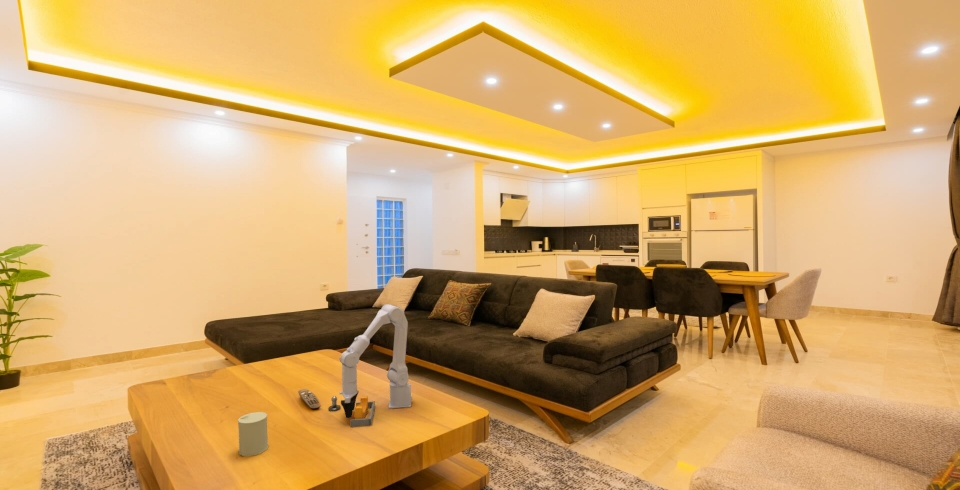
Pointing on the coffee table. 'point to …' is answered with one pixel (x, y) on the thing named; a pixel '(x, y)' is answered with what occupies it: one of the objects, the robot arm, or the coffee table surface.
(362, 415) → the pipe clamp
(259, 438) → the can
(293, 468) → the coffee table surface
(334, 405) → the ball stud
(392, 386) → the robot arm
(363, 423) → the u-shaped bracket
